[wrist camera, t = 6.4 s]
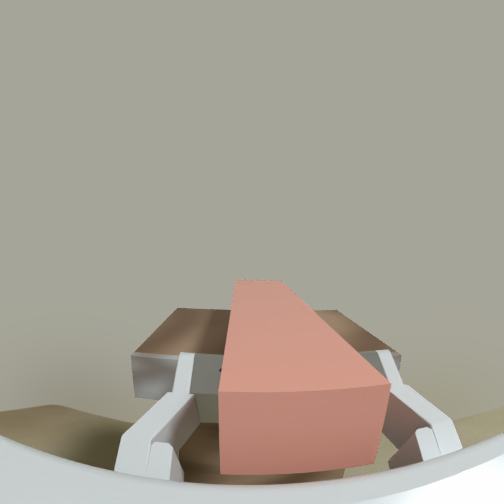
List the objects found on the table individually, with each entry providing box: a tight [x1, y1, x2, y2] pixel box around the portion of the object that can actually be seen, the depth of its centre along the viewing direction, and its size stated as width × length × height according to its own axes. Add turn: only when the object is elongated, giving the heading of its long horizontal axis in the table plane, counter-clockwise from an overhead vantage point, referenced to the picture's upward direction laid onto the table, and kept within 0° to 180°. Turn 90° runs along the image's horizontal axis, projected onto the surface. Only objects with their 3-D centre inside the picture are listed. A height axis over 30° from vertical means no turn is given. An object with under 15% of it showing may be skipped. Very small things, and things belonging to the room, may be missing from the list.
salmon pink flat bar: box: [218, 280, 391, 475], centre depth 18 cm, size 4×22×2 cm, turn 2°
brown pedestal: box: [131, 308, 401, 485], centre depth 22 cm, size 14×13×25 cm
